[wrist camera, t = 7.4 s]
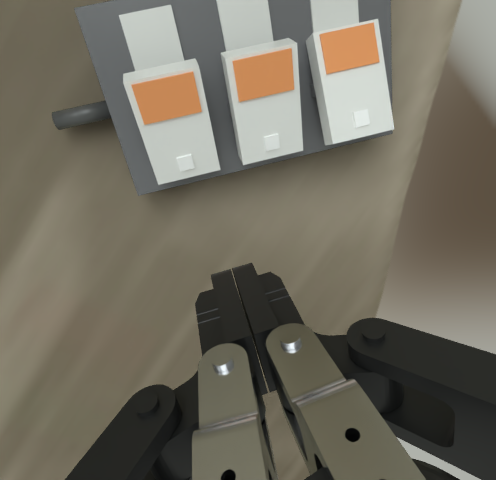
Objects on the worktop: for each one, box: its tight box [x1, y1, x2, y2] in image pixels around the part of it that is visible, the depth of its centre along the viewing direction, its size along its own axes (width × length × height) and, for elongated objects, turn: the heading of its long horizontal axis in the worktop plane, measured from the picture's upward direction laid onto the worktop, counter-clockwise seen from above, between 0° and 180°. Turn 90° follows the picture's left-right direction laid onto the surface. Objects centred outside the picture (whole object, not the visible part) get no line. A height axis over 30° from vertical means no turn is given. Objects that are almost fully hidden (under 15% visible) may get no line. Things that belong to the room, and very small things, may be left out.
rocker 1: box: [123, 58, 220, 185], centre depth 25 cm, size 7×4×2 cm, turn 10°
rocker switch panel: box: [52, 0, 392, 196], centre depth 27 cm, size 12×24×4 cm, turn 101°
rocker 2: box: [306, 19, 394, 145], centre depth 26 cm, size 7×4×2 cm, turn 11°
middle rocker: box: [221, 38, 303, 165], centre depth 25 cm, size 7×4×2 cm, turn 10°
